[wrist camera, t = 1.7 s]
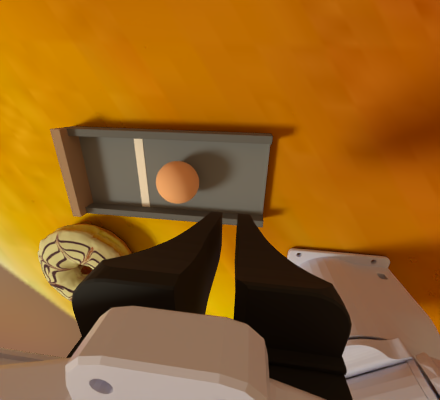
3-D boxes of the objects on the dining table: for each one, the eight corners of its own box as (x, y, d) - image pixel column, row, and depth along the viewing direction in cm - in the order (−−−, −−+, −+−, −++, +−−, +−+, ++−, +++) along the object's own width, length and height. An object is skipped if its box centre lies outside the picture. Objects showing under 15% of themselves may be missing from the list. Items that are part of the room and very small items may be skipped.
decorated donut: (50, 264, 28) (22, 286, 25) (69, 200, 24) (38, 216, 21) (123, 302, 29) (106, 328, 26) (154, 247, 25) (138, 269, 22)
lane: (270, 133, 19) (273, 137, 16) (261, 218, 22) (263, 231, 19) (73, 126, 21) (50, 129, 18) (91, 204, 24) (73, 216, 21)
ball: (202, 157, 20) (193, 168, 16) (203, 195, 21) (194, 212, 18) (163, 155, 20) (146, 165, 17) (166, 193, 21) (151, 209, 18)
